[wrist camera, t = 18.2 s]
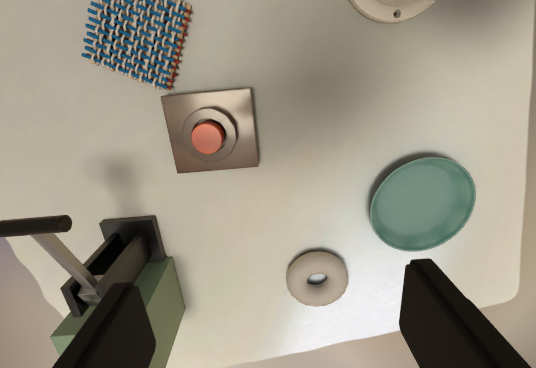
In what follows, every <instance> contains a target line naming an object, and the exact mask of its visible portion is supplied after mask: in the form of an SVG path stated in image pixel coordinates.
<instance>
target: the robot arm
mask: <svg viewBox="0 0 536 368" xmlns="http://www.w3.org/2000/svg"><path fill="white" fill-rule="evenodd" d="M350 1H351V3H352V4H353V6H354V7H355V8H356V9H357V10H358V11H359V12H360V13H362V14H363V15H364V16H366V17H367V18H369V19H372V20H374V21H377V22H382V23H396V22H400V21H404V20H407V19H410V18H412V17H415V16H416V15H418V14H420V13H421V12H423V11H425V10H426V9H427V8H428V7H430V6H431V5H432V4H433V3H434V2H435V1H436V0H350ZM393 13H395V14H396V16H395V17H394V16H393ZM399 326H400V330H401V333H402V335H403V337H404V339H405V341H406V343H407V344H408V346H409V348H410V350H411V352H412V354H413V356H414V358H415V359H416V361H417V363H418V365H419V367H420V368H531V367H530V366H529V365H528V363H527V362H526V361H525V360H524V359H523V358H522V357H521V356H520V355H519V354H518V352H517V351H516V350H515V349H514V348H513V347H512V346H511V345H510V344H509V342H507V340H506V339H505V338H504V337H503V336H502V335H501V334H500V333H499V331H498V330H497V329H496V328H495V327H494V326H493V325H492V324H491V323H490V321H489V320H488V319H487V318H486V317H485V316H484V315H483V314H482V313H481V312H480V310H479V309H478V308H477V307H476V306H475V305H474V304H473V303H472V302H471V301H470V300H469V299H467V298H466V297H465V296H464V295H463V294H462V293H461V292H460V291H459V289H458V288H457V287H456V286H455V285H454V284H453V283H452V282H451V280H450V279H449V278H448V277H447V276H446V275H445V274H444V273H443V272H442V270H441V269H440V268H439V267H438V266H437V265H436V264H435V263H434V262H433V261H432V260H431V259H429V258H428V259H415V260H411V262H410V264H408V265H406V267H405V275H404V284H403V293H402V301H401V310H400V319H399ZM155 349H156V339H155V336H154V333H153V330H152V327H151V323H150V320H149V317H148V314H147V311H146V308H145V305H144V302H143V299H142V296H141V293H140V290H139V287H138V286H135V285H134V283H132V282H121V283H114V284H112V286H111V287H110V288H109V289H108V291H107V292H106V294H105V295H104V296H103V298H102V299H101V301H100V302H99V303H98V305H97V306H96V308H95V309H94V310H93V312H92V313H91V314H90V316H89V317H88V319H87V320H86V321H85V323H84V324H83V326H82V327H81V328H80V330H79V331H78V332H77V334H76V335H75V337H74V338H73V339H72V341H71V342H70V344H69V345H68V346H67V348H66V349H65V350H64V352H63V353H62V355H61V356H60V357H59V359H58V360H57V362H56V363H55V364H54V366H53V367H52V368H149V365H150V363H151V360H152V358H153V355H154V353H155Z"/></svg>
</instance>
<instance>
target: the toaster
mask: <svg viewBox="0 0 536 368" xmlns="http://www.w3.org/2000/svg"><path fill="white" fill-rule="evenodd" d="M134 285H135V286H138V287H139V290H140V293H141V296H142V299H143V302H144V305H145V308H146V311H147V314H148V317H149V320H150V323H151V327H152V330H153V333H154V336H155V339H156V349H155V353H154V355H153V358H152V360H151V363H150V365H149V368H165V367H166V364H167V361H168V359H169V356H170V353H171V350H172V347H173V344H174V341H175V338H176V335H177V332H178V329H179V326H180V323H181V320H182V317H183V314H184V311H185V305H184V301H183V297H182V293H181V290H180V286H179V282H178V278H177V274H176V270H175V266H174V262H173V258H172V257H166V258H165V260H164V262H153V263H147V264H146V265H145V267H144V268H143V270H142V272H141V273H140V275H139V276H138V278H137V280H136V281H135V283H134ZM95 308H96V306H89V308H88V309H87V310H86V312H85V313H84V314H83V316H82V317H73V315H72V313H71V312H70V313H69V314H68V315H67V317H66V318H65V319H64V320H63V322H62V323H61V324H60V325H59V327H58V328H57V329H56V330H55V331H54V333H53V334H52V335H51V336H50V338H51V340H52V342H53V344H54V345H55V347H56V349H57V351H58V353H59V355H60V356H61V355H62V353H63V352H64V350H65V349H66V348H67V346H68V345H69V344H70V342H71V341H72V339H73V338H74V337H75V335H76V334H77V332H78V331H79V330H80V328H81V327H82V326H83V324H84V323H85V321H86V320H87V319H88V317H89V316H90V314H91V313H92V312H93V310H94V309H95Z"/></svg>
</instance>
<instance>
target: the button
mask: <svg viewBox="0 0 536 368" xmlns="http://www.w3.org/2000/svg"><path fill="white" fill-rule="evenodd" d="M191 141H192V144H193V146H194V147H195V148H196V150H198V151H199V152H201V153H204V154H212V153H215V152H216V151H218V150H219V148H220V147H221V145H222V144H223V141H224V132H223V129H222V128H221V126H220V125H218V124H217V123H215V122H213V121H204V122H202V123H200V124H199V125H198V126H196V127H195V128H194V130H193V132H192V134H191Z"/></svg>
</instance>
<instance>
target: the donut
mask: <svg viewBox="0 0 536 368" xmlns="http://www.w3.org/2000/svg"><path fill="white" fill-rule="evenodd" d="M314 274H324V275H326V276H327V280H326V281H325V282H323V283H322V284H319V285H312V284H309V283H308V282H307V279H308V278H309V277H310V276H312V275H314ZM286 280H287V287H288V290H289V291H290V293H291V295H292V296H293V297H294V298H295V299H296V300H297V301H299V302H301V303H303V304H305V305H309V306H325V305H328V304H330V303H333V302H334V301H336V300H337V299H339V298H340V297H341V296H342V295H343V293H344V292H345V290H346V288H347V285H348V271H347V269H346V267H345V265H344V263H343V262H342V261H341V260H340V259H339V258H338V257H336V256H334V255H332V254H329V253H326V252H320V251H319V252H310V253H307V254H305V255H302V256H300V257H299V258H298V259H296V260H295V261H294V262H293V264H292V265H291V266H290V268H289V270H288V273H287V277H286Z"/></svg>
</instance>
